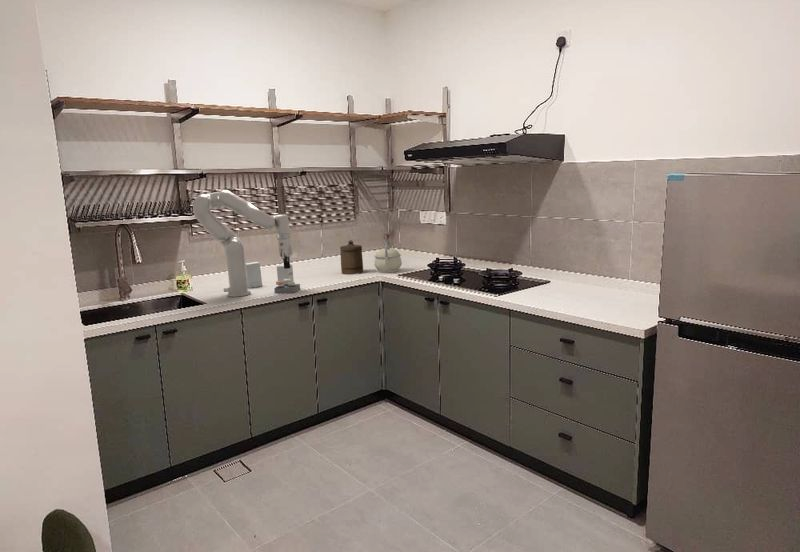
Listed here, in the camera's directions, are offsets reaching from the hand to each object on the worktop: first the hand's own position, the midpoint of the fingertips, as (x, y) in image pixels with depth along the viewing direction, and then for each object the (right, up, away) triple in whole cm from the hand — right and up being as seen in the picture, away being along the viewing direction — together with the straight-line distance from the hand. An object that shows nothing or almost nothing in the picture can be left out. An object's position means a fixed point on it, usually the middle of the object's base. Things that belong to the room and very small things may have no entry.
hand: (287, 268), depth 300 cm
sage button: (+3, -10, -4) cm, 11 cm away
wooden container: (+32, -2, +57) cm, 65 cm away
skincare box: (-24, -11, +20) cm, 33 cm away
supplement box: (-4, -11, +17) cm, 21 cm away
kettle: (+57, -2, +52) cm, 77 cm away
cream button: (0, -8, +1) cm, 8 cm away
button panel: (+1, -13, -2) cm, 13 cm away
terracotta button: (-3, -9, -6) cm, 11 cm away
